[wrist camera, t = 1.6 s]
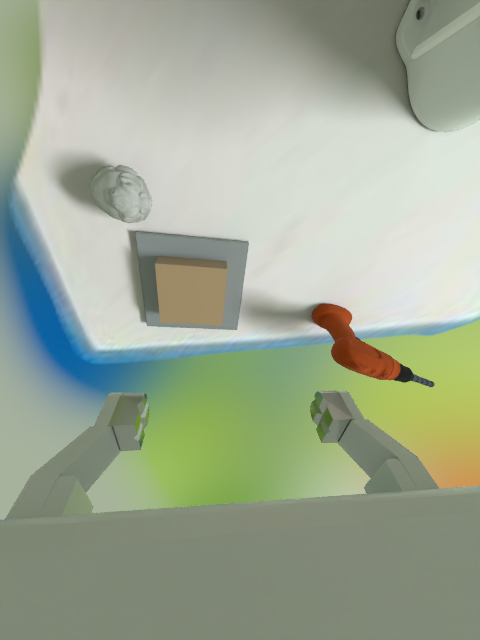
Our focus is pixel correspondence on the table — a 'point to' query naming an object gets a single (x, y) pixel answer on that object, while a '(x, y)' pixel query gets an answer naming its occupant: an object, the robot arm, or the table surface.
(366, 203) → the table surface
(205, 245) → the baseplate
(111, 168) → the grey lumpy sculpture
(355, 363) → the toy drill
